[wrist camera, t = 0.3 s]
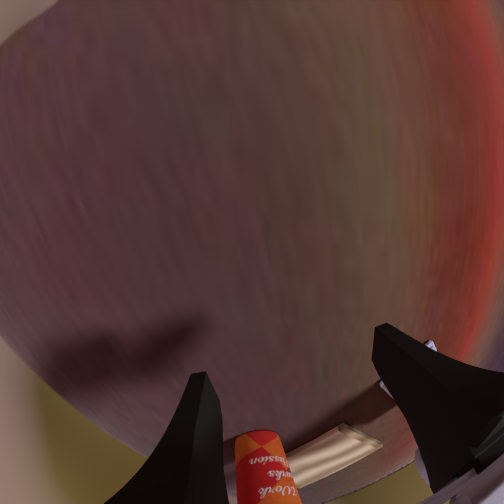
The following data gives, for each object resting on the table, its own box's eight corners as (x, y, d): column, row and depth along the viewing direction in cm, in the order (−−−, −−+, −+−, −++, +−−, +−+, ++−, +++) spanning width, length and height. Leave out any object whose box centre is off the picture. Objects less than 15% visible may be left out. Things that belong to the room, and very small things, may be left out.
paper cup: (299, 435, 30) (326, 526, 17) (254, 457, 31) (270, 541, 18) (259, 418, 27) (282, 529, 14) (212, 442, 28) (220, 541, 16)
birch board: (381, 442, 36) (383, 445, 35) (298, 484, 39) (299, 488, 38) (343, 422, 30) (345, 427, 29) (242, 472, 33) (242, 476, 32)
